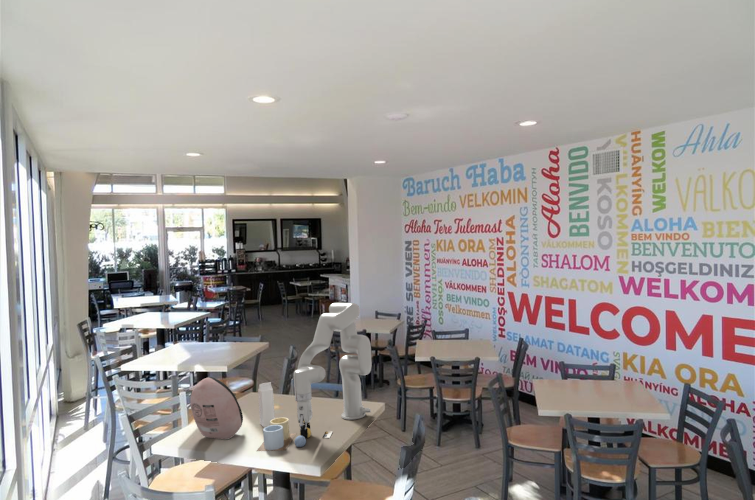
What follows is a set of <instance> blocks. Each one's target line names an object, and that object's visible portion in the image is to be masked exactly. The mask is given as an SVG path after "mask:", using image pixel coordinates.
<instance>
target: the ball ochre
mask: <svg viewBox="0 0 755 500" xmlns="http://www.w3.org/2000/svg"><path fill="white" fill-rule="evenodd" d="M307 431H308V438H307V439H309V438H310V437H311V435H312V431H311V428H310V429H309V428H307ZM300 435H301V434H300V433H299V436H300Z"/></svg>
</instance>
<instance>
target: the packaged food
mask: <svg viewBox="0 0 755 500" xmlns="http://www.w3.org/2000/svg"><path fill="white" fill-rule="evenodd" d="M189 404H190V409H191V413H192V416H193V419H194V423H195V425H196V427H197V428H198V431H199V432H200V434H201V436H204V437H205V438H208V437H209V438H210V439H216V440H229V439H231V438H233V437H234V436H235V435H236V434H237V433H238V431H239V430H240V429H241V428H242V425H243V421H244V416H243V412H242V409H241V406H240V403H239V400H238V399H237V397H236V395H235V394H234V393H233V391H232V390H231V388H230V387H229V386H227V384H225V383H224V382H223V381H221V380H220V379H218V378H215V377H212V376H208V377H206V378H203V379H202V380H200V381H198V382H197V384H196V385H195V386H194V387H193V389H192V392H191V394H190V402H189Z"/></svg>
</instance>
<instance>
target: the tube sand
mask: <svg viewBox="0 0 755 500" xmlns="http://www.w3.org/2000/svg"><path fill="white" fill-rule="evenodd" d="M271 425H281V426H282V427H283V436H284V440H286V439H288V438H289V437H290V434H291V432H290V419H289V418H288V417H283V416H282V417H275V419H272V420H271V421H270V426H271Z"/></svg>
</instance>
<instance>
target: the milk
mask: <svg viewBox="0 0 755 500" xmlns="http://www.w3.org/2000/svg"><path fill="white" fill-rule="evenodd" d="M257 391H258V392H257V394H258V396H257V397H258V409H259V411H258V414H259V425H261V426H262V427H263V428H265V427H267V426H270V421H271V420H272V419H275V418H276V417H275V404H274V401H275V400H274V389H273V387H272V381H269V382H264V383H259V385H258V389H257Z"/></svg>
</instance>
